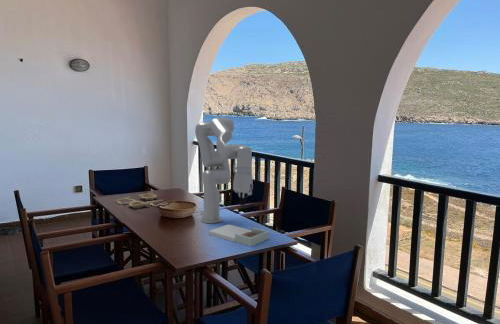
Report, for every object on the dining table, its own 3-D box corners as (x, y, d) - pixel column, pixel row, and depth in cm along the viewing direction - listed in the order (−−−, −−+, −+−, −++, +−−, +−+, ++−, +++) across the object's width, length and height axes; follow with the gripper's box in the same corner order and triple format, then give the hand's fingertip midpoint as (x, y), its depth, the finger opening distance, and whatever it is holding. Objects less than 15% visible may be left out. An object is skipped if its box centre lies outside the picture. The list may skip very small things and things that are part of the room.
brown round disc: (240, 240, 195) (240, 234, 195) (249, 237, 201) (249, 231, 200) (251, 243, 191) (251, 237, 190) (259, 239, 196) (259, 234, 196)
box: (234, 241, 192) (235, 234, 191) (252, 234, 204) (253, 227, 203) (250, 246, 185) (251, 238, 185) (268, 238, 197) (268, 231, 197)
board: (208, 234, 202) (208, 230, 202) (228, 227, 215) (228, 224, 214) (234, 242, 191) (234, 238, 191) (253, 234, 204) (253, 230, 204)
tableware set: (112, 202, 270) (112, 196, 270) (150, 196, 290) (150, 191, 289) (134, 212, 245) (134, 206, 244) (173, 205, 264) (173, 199, 264)
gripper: (228, 169, 196) (227, 203, 199) (250, 173, 187) (249, 208, 190) (237, 167, 202) (236, 200, 204) (259, 171, 193) (258, 205, 195)
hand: (242, 204), depth 197 cm, fingers closed
